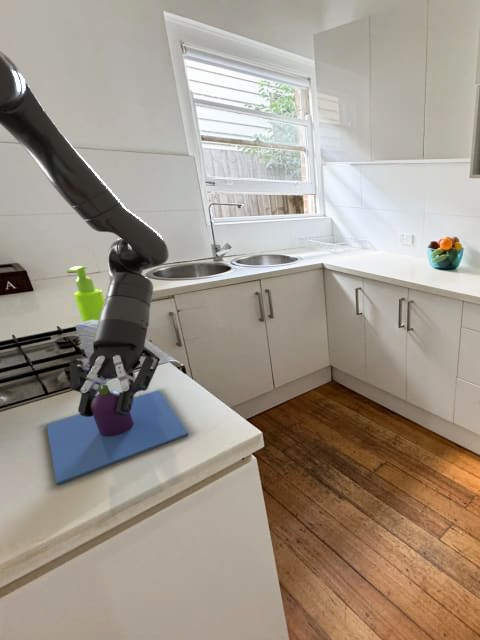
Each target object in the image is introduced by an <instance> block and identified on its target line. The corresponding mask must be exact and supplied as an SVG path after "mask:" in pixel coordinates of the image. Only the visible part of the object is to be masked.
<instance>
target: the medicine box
mask: <svg viewBox="0 0 480 640" xmlns="http://www.w3.org/2000/svg"><path fill="white" fill-rule="evenodd" d="M98 321H99V320H89V321H86V322H83V321H82V322H80V323H78V324H76V325H75V329H76V332H77V335H78V339H79V340H80V343H81V346H82V350H83V352H84V354H85V357H86V358H89V356H90V355H91V354H92V352H93V350H94V347H93V341H94V337H95V333H96V329H97V325H98Z"/></svg>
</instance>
